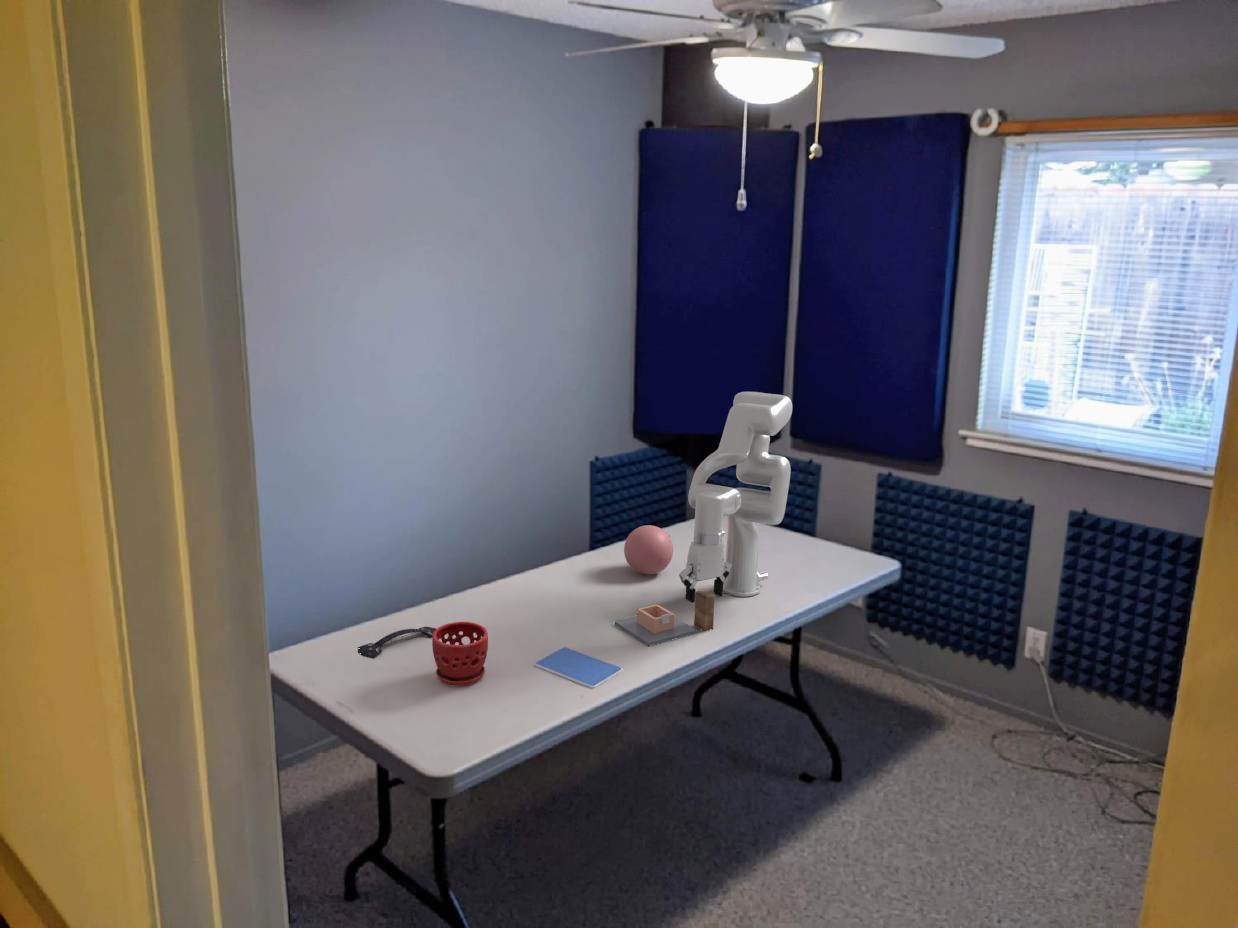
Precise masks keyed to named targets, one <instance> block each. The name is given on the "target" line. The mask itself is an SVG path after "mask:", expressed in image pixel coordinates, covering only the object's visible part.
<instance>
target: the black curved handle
mask: <svg viewBox="0 0 1238 928" xmlns="http://www.w3.org/2000/svg"><path fill="white" fill-rule="evenodd" d="M437 628H438V627H437ZM437 628H435V627H430V626H423V627H419V628H404V629H400V630H397V631H394V632H391V633H389V634H387V635H385V636H384V637H382V638H380V639H379V640H377V641H376V642H373V643H371V642H368V643H366V644H363V645H360V646H358V647H357V653H358V654H359V655H360V656H362V657H364V658H367V659H372V660H374V659H376V658H377V657H378V656H379V655H381V653H382V649H381V647H383V646H386V645H389V644H393V643H395V642H398V641H402V640H405V639H408V638H411V637H414V636H417V635H421V634H423V635H424V636H425V637H427V638H430V639H432V635H433V632H434V631H435V630H436V629H437ZM416 633H418V634H416ZM413 634H414V635H413ZM410 635H411V636H410ZM403 637H405V638H403ZM400 638H401V639H400ZM396 639H398V640H396ZM393 640H394V641H393ZM395 640H396V641H395ZM358 648H360V649H358ZM360 653H361V654H360Z"/></svg>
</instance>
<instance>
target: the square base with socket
mask: <svg viewBox="0 0 1238 928" xmlns="http://www.w3.org/2000/svg"><path fill="white" fill-rule="evenodd" d="M636 612H637V613H636V615H633V616H629V617H625V618H622V619H619V620H615V621H614V626H616V627H618V628H619V629H621V630H622V631H624V632H625V633H627V634H628V635H630V636H632V637H633V638H635V639H636V638H637V639H636V640H638V641H639V640H640V641H639V642H641V643H642V642H643V643H642V644H644V643H645V644H644V645H646V646H647V645H648V646H647V647H651V646H650V645H652V646H654V645H653V644H655V645H658V644H657V643H659V644H662V643H666V642H669V641H668V640H670V641H672V639H674V640H676V639H675V638H677V639H680V638H684V637H687V635H688V636H691V634H692V635H694V634H698V633H697V632H698V630H697V629H696V627H693V626H691V625H690V624H687V623H686V622H684V621H683V620H681V619H680V618H677V617H676V615H675V613H673V612H671V611H669V610H668V609H666V608H665V607H662V606H661V605H659V604H657V603H656V604H653V605H648V606H644V607H641V608H637V609H636ZM665 641H666V642H665Z"/></svg>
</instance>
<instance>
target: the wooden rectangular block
mask: <svg viewBox="0 0 1238 928" xmlns="http://www.w3.org/2000/svg"><path fill="white" fill-rule="evenodd" d="M715 598H716V594H714V593H712V592H710V591H709V590H706V589H700V590H697V591H696V590H695V602H694V617H693V618H694V621H693V622H694V623H693V626H694V627H695V628H697V629H699V630H701V629H702V630H701V631H703V632H707V630H708V631H711V630H710V629H712V630H714V621H715V620H714V617H715V601H716V599H715Z"/></svg>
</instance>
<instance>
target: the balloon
mask: <svg viewBox="0 0 1238 928" xmlns="http://www.w3.org/2000/svg"><path fill="white" fill-rule="evenodd" d="M623 553H624V559H625V560H626V563H627V564H628V566H630V568H631V569H632V570H634V571H635V572H637V573H639V574H642V575H647V576H648V575H656V574H658V573H660V572H663V571H664V570H665V569H666V568H667V567H668V566H669V565H670V563H671V561H672V558H673V556H674V555H673V554H674V545H673V541H672V539H671V534H670V533H667V532H666V531H665V529H663V528H662V527H658V526H656V525H650V524H649V525H642V526H638V527H637V528H635V529H634V530H632V531H631V532H630V533H629V534H628V536H627V537H626V540H625V542H624V546H623Z"/></svg>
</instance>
